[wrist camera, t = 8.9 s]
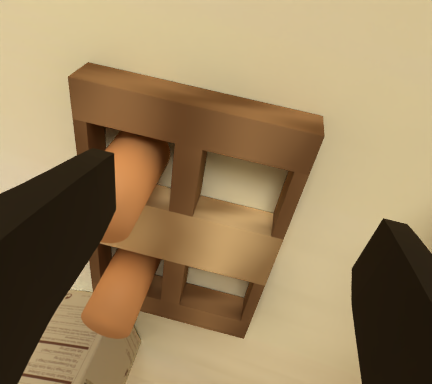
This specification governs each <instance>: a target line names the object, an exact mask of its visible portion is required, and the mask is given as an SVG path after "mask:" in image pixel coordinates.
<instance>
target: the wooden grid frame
mask: <svg viewBox="0 0 432 384" xmlns="http://www.w3.org/2000/svg"><path fill="white" fill-rule="evenodd" d="M68 82H69V90H70V99H71V108H72V116H73V125H74V133H75V142H76V150H77V155H79V154H81V153H83V152H85V151H87V150H89V149H91V148H95V149H99V150H103V151H105V150H106V142H105V127H108V128H113V129H117V130H121V131H125V132H129V133H134V134H138V135H142V136H146V137H150V138H155V139H159V140H163V141H167V142H171V143H175V148H174V159H173V170H172V181H171V188H168V187H164V186H160V185H156V186H155V188H154V190H153V192H152V194H151V195H150V197H149V199H148V201H147V203H146V205H145V207H144V209H143V211H142V213H141V214H140V216H139V218H138V220H137V222H136V224H135V226H134V228H133V230H132V231H131V233H130V235H129V236H128V237H127V238H126V239H125V240H123V241H121V242H118V243H103V242H100V244H99V245H98V247H97V248H96V250H95V251H94V253H93V255H92V256H91V258H90V259H89V261H90V270H91V278H92V287H93V292H94V290H95V288H96V286H97V284H98V283H99V281H100V279H101V277H102V275H103V274H104V272H105V270H106V268H107V266H108V265H109V263H110V261H111V259H112V252H111V246H112V247H116V248H120V249H124V250H128V251H132V252H136V253H139V254H143V255H147V256H151V257H155V258H159V259H163V260H164V269H163V277H162V276H158V275H154V278H153V280H152V282H151V285H150V287H149V290H148V292H147V295H146V297H145V299H144V302H143V304H142V307H141V309H140V311H142V312H146V313H150V314H153V315H157V316H161V317H165V318H168V319H172V320H176V321H180V322H183V323H187V324H191V325H194V326H198V327H202V328H206V329H209V330H213V331H217V332H221V333H224V334H228V335H232V336H236V337H239V338H243V339H244V337H245V335H246V332H247V329H248V327H249V324H250V322H251V319H252V317H253V314H254V312H255V309H256V307H257V304H258V302H259V299H260V297H261V294H262V292H263V289H264V287H265V284H266V282H267V279H268V277H269V274H270V272H271V269H272V267H273V264H274V262H275V259H276V257H277V254H278V252H279V249H280V247H281V244H282V242H283V239H284V237H285V234H286V232H287V229H288V227H289V224H290V222H291V219H292V217H293V214H294V212H295V209H296V206H297V204H298V201H299V199H300V196H301V194H302V191H303V189H304V186H305V184H306V181H307V179H308V176H309V174H310V171H311V169H312V166H313V164H314V161H315V159H316V156H317V154H318V151H319V149H320V146H321V144H322V141H323V139H324V124H323V116H320V115H316V114H311V113H307V112H303V111H298V110H294V109H290V108H285V107H281V106H276V105H272V104H268V103H263V102H259V101H255V100H250V99H246V98H241V97H237V96H233V95H228V94H224V93H220V92H215V91H211V90H207V89H202V88H198V87H193V86H189V85H185V84H180V83H176V82H172V81H167V80H163V79H159V78H154V77H150V76H145V75H141V74H137V73H132V72H128V71H124V70H119V69H115V68H111V67H106V66H102V65H97V64H93V63H89V62H88V63H87V64H85V65H84V66H82V67H81V68H79V69H78V70H77V71H75V72H74V73H72V74H71V75H70V76H68ZM207 151H209V152H213V153H217V154H222V155H226V156H230V157H234V158H238V159H243V160H247V161H251V162H255V163H259V164H263V165H268V166H272V167H276V168H280V169H284V170H289V171H288V174H287V176H286V179H285V182H284V185H283V188H282V191H281V194H280V197H279V199H278V202H277V205H276V208H275V211H274V213H270V212H266V211H262V210H258V209H254V208H250V207H246V206H242V205H238V204H233V203H229V202H225V201H221V200H217V199H213V198H209V197H205V196H201V195H200V194H201V188H202V182H203V176H204V169H205V163H206V157H207ZM189 266H190V267H194V268H198V269H202V270H205V271H209V272H213V273H217V274H221V275H225V276H229V277H233V278H236V279H240V280H244V281H248V282H249V285H248V288H247V291H246V294H245V297H244V298H243V297H239V296H235V295H231V294H227V293H223V292H220V291H216V290H212V289H208V288H204V287H200V286H196V285H193V284H189V283H186V281H187V274H188V268H189Z"/></svg>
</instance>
